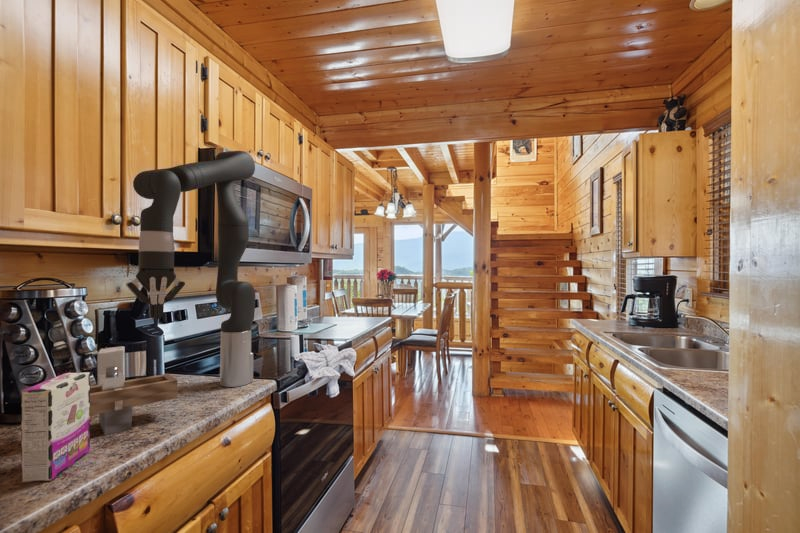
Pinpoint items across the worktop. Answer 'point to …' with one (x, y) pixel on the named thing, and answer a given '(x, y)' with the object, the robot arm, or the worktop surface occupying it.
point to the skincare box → (111, 360)
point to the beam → (129, 400)
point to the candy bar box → (54, 425)
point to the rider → (111, 379)
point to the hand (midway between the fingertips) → (156, 319)
